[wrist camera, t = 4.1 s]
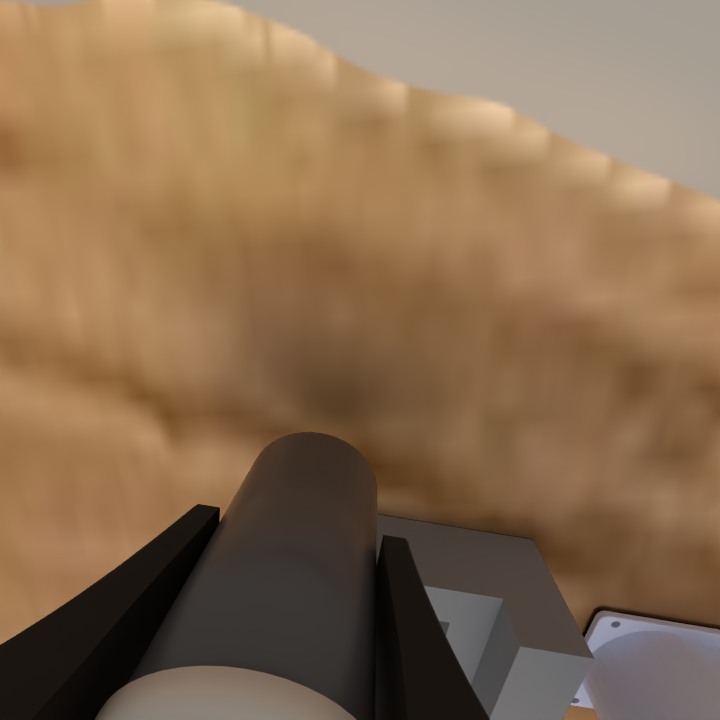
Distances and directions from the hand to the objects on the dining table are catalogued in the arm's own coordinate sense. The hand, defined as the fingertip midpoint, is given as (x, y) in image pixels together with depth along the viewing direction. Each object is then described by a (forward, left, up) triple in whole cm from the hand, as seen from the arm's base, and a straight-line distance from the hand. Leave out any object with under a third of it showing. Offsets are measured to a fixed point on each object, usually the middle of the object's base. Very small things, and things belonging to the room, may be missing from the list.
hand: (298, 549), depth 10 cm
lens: (0, 0, -2) cm, 3 cm away
